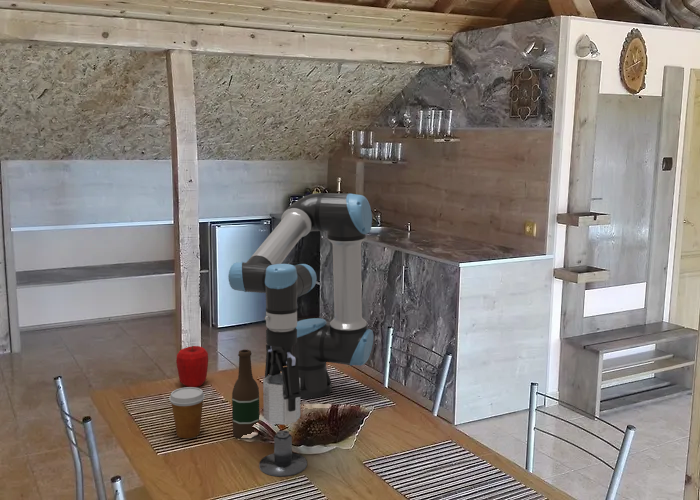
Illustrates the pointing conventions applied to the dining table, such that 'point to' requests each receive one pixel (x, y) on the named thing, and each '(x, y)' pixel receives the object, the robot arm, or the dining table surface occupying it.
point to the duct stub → (283, 458)
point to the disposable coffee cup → (187, 411)
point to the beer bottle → (245, 398)
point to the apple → (192, 366)
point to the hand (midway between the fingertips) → (282, 415)
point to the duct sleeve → (276, 399)
